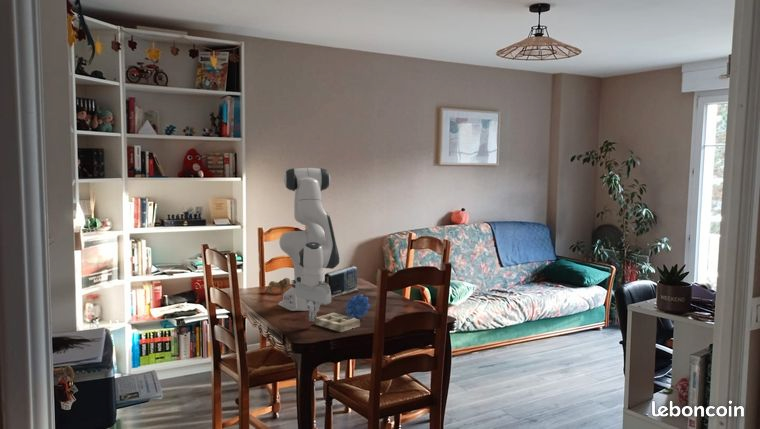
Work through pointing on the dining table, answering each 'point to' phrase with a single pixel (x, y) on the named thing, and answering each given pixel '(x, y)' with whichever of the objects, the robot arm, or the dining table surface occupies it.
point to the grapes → (357, 306)
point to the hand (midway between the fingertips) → (313, 310)
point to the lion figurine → (279, 285)
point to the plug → (312, 311)
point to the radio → (342, 281)
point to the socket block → (337, 322)
